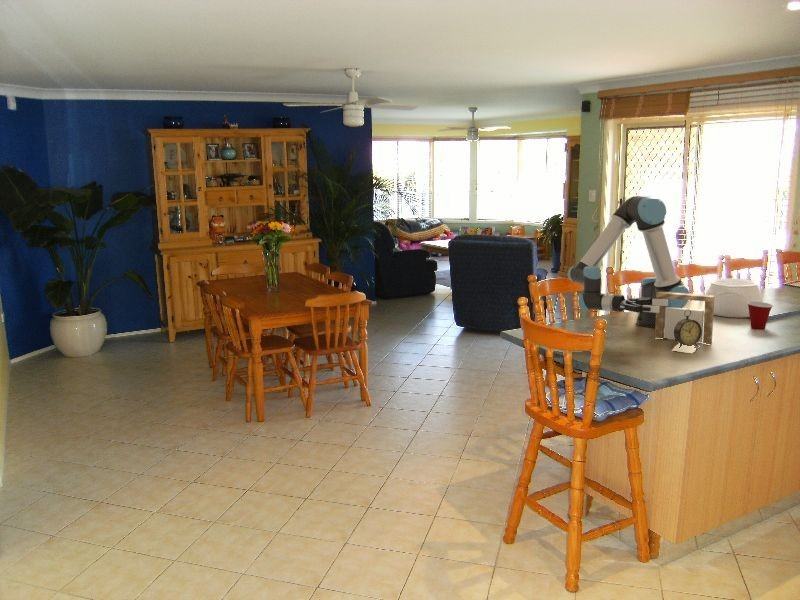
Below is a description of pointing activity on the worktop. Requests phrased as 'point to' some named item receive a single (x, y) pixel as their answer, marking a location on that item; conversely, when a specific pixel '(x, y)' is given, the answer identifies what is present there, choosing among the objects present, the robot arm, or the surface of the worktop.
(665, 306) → the robot arm
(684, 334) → the alarm clock
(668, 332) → the door
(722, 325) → the worktop surface
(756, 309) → the plastic cup
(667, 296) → the door frame
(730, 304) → the white pet bowl
